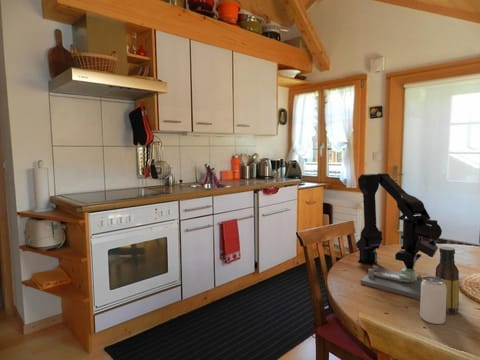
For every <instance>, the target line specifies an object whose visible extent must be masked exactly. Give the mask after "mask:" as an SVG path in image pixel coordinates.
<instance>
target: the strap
mask: <svg viewBox="0 0 480 360" xmlns="http://www.w3.org/2000/svg"><path fill="white" fill-rule="evenodd" d="M374 276H377V277H383V278H388V279H393V280H399V281H404V282H410V280H411V279H410V280H409V279H404V278H400V277H399V275H393V274H387V273H382V272H376V271H374Z"/></svg>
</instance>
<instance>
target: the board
mask: <svg viewBox="0 0 480 360" xmlns="http://www.w3.org/2000/svg"><path fill="white" fill-rule="evenodd" d="M374 271H376V272H382V273H387V274H393V275H400V274H401V271H399V272H398V271H395V270H390V269H387V268H386V269H385V268H382V267H379V266H377V265H375V264H373V265H372V268H368V269H367V275H365V276H363V277H362V278H361V279H360V285H364V286H368V287H371V288H375V289H379V290H381V291H386V292H390V293H395V294H399V295H402V296H405V297H406V296H407V297H410V298H413V299H417V300H420V301H421V282H422V281H423V278H424V277H422V274H420V273H419V274H418V275H415V280H414V281H413V282H404V281H399V280H393V279H388V278H383V277H377V276H374Z"/></svg>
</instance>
